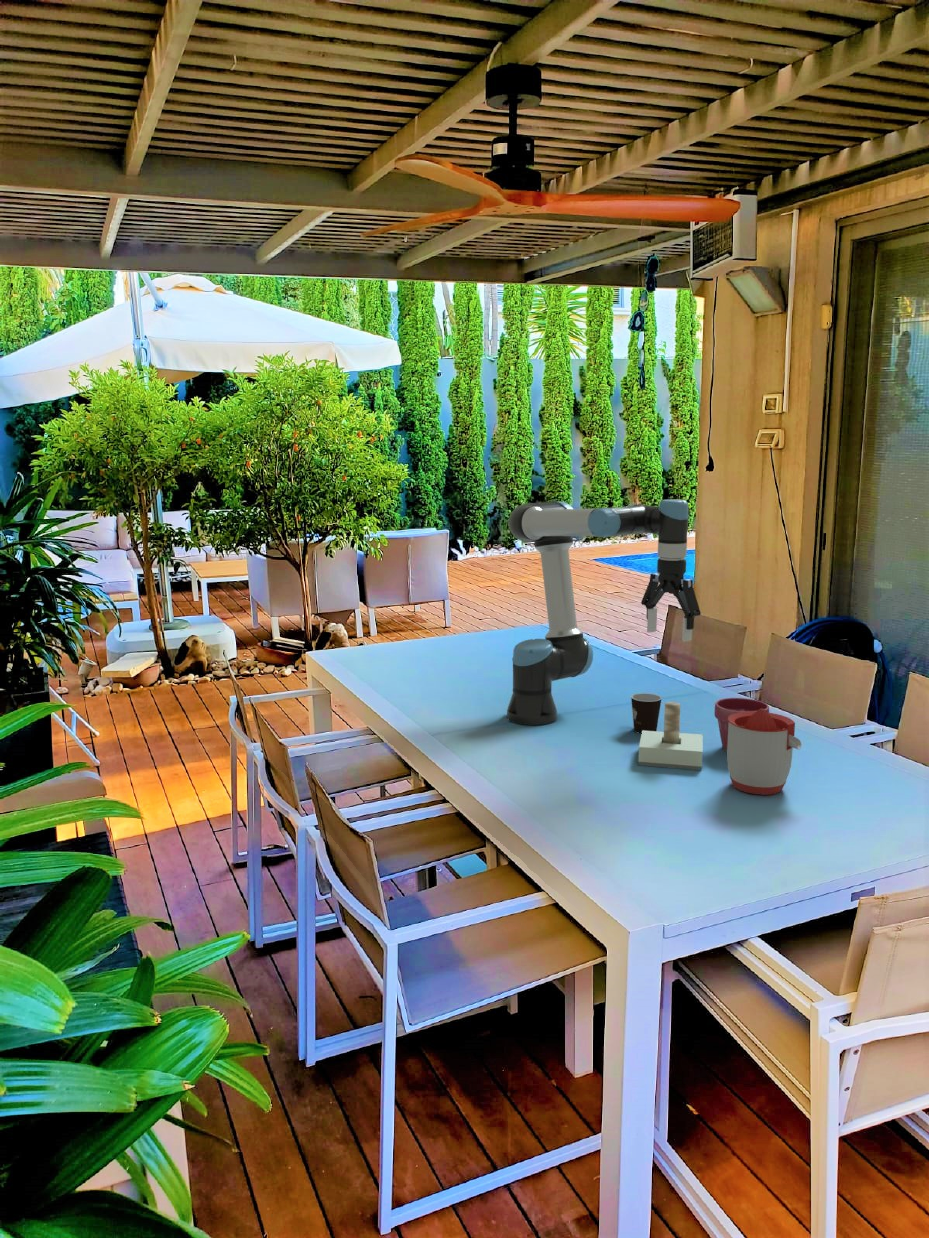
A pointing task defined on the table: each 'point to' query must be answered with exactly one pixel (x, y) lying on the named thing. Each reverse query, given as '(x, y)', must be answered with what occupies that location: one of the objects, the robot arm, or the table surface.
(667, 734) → the dowel
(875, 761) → the table surface
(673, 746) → the socket block
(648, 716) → the coffee mug
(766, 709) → the plant pot
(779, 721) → the citrus juicer
